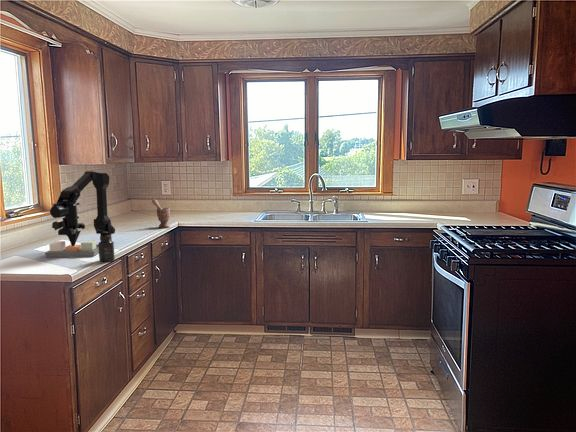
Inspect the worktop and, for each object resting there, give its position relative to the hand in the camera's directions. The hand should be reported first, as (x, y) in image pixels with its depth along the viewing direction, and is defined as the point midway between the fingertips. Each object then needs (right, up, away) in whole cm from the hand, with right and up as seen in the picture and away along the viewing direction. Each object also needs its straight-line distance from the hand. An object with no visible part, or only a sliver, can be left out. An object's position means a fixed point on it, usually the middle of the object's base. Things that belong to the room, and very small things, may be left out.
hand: (73, 245), depth 222 cm
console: (0, -5, +1) cm, 5 cm away
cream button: (-8, -2, 0) cm, 8 cm away
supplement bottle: (+22, -7, -11) cm, 25 cm away
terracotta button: (0, -4, +1) cm, 4 cm away
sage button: (+7, -2, +1) cm, 8 cm away
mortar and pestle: (+23, +7, +77) cm, 81 cm away
